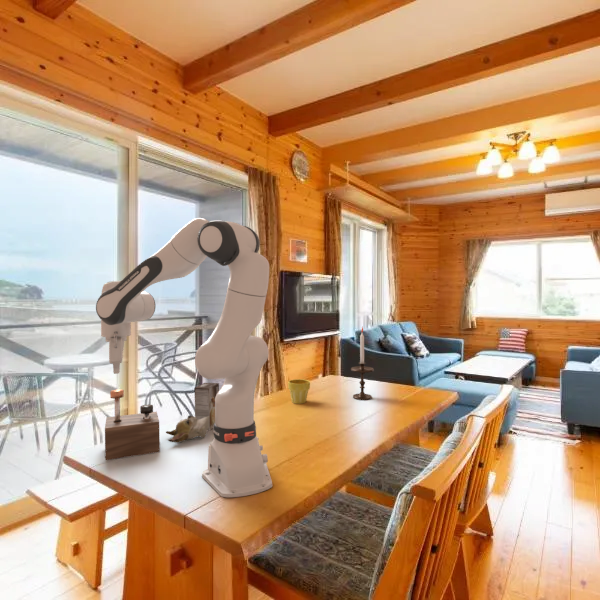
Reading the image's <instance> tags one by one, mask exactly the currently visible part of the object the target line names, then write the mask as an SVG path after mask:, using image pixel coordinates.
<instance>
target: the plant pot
mask: <svg viewBox="0 0 600 600" xmlns="http://www.w3.org/2000/svg"><path fill="white" fill-rule="evenodd" d="M287 388H288V390H289V392H290V393H289V394H290V398H291V403H293V404H296V405H301V404H305V403H306V402H307V398H308V394H309V390H310V389H311V381H310V380H308V379H304V378H303V379H302V378H297V379H290V380H288V382H287Z"/></svg>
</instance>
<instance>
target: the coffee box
mask: <svg viewBox="0 0 600 600" xmlns="http://www.w3.org/2000/svg"><path fill="white" fill-rule="evenodd" d="M219 390H220V383H219V382H203V383H202V384H199V385H198V386H196V387H194V417H196V419H198V420H199V419H202V418H205V417H208V416H209V428H208V430H207V431H211V430H213V428H214V423H215V397H216V395H217V393H218V391H219Z"/></svg>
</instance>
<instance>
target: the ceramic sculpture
mask: <svg viewBox="0 0 600 600" xmlns="http://www.w3.org/2000/svg"><path fill="white" fill-rule="evenodd" d="M208 428H209V416H208V417H205V418H202V419H199V420H198V419H196V417H195V416H194V415H187V417H186V418H184V419H181V420H179V421H178V422H177V423H176V426H175V429H173V430H171V431H165V433H166V434H168V435H169V436H172V437H171V438H170V439H168V440H167V441H168V442H170V443H177V444H178V443H182V442H185V441H189V440H192V439H194V438H197V437H199V438H201V439H204V438H205V437H206V435H207V432H208V431H209V430H208Z"/></svg>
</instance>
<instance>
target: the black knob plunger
mask: <svg viewBox="0 0 600 600" xmlns="http://www.w3.org/2000/svg"><path fill="white" fill-rule="evenodd" d="M139 408H140V411H139V412H140V413H141V414H144V419H149V413H152V412H154V405H153V404H144V405H143V404H142V405H141V406H140V407H139ZM140 413H139V414H140Z"/></svg>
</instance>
